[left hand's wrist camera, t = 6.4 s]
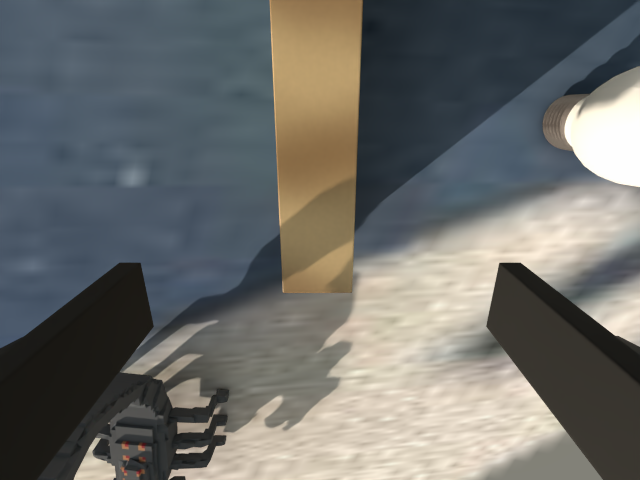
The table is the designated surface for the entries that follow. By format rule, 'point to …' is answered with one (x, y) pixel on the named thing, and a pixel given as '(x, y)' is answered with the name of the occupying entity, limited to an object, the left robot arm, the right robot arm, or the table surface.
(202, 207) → the table surface
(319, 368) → the table surface
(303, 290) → the wooden beam
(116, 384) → the toy
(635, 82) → the light bulb
